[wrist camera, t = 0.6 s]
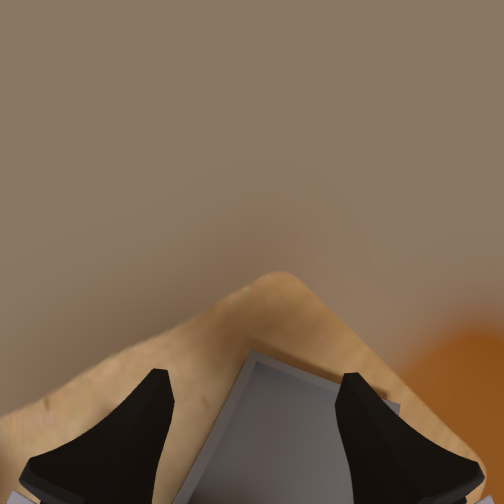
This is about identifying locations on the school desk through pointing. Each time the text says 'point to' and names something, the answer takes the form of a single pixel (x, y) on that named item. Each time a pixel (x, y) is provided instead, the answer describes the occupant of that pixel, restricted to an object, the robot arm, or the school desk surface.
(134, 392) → the robot arm
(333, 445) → the charcoal tray
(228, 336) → the school desk surface
